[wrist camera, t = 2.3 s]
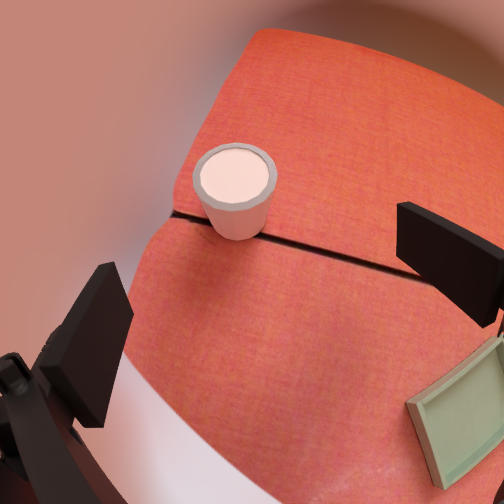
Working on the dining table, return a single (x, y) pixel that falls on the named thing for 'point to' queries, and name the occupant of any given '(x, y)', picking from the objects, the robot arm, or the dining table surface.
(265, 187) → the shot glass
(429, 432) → the green tray
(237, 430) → the dining table surface
